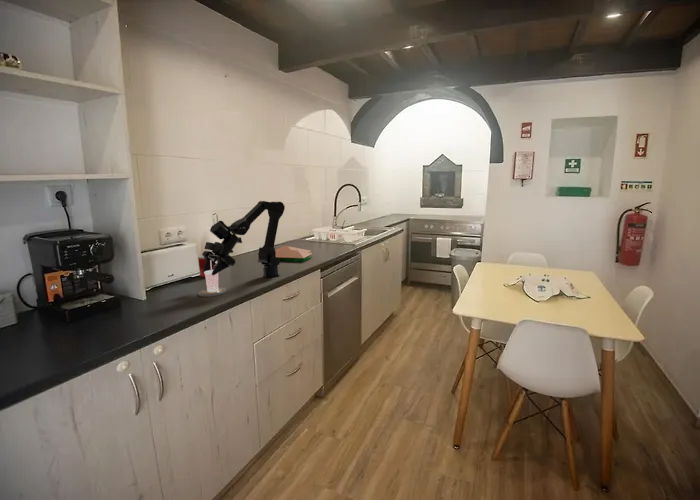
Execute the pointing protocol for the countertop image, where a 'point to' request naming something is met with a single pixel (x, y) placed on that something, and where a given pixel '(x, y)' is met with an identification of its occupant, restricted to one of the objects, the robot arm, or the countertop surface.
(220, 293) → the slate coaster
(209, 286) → the beverage cup
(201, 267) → the canned food
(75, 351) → the countertop surface
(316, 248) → the countertop surface
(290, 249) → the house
